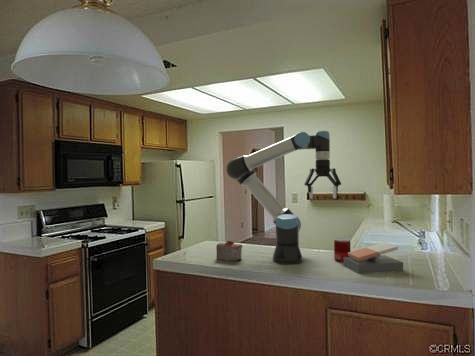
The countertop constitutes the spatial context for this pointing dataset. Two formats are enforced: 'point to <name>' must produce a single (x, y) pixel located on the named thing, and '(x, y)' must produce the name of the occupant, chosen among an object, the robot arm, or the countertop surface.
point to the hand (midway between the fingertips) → (322, 198)
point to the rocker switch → (372, 251)
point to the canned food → (341, 249)
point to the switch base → (373, 264)
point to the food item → (229, 251)
